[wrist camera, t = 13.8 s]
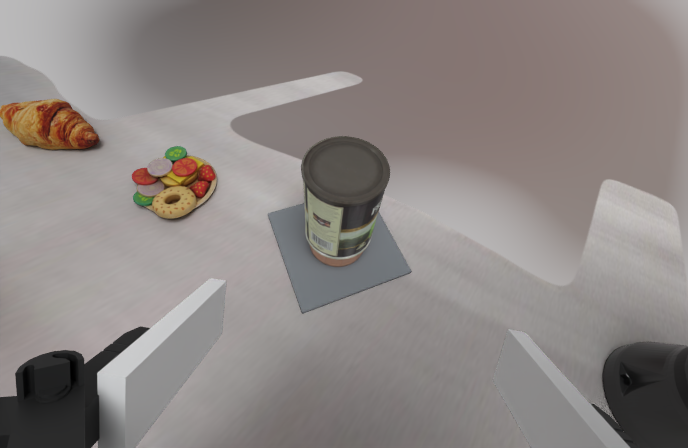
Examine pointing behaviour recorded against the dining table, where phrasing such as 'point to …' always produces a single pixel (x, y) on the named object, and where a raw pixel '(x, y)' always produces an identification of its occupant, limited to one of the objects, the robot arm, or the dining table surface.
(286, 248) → the mat
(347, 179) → the coffee can
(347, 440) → the dining table surface
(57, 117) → the croissant
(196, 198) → the toy food set
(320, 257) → the bowl
